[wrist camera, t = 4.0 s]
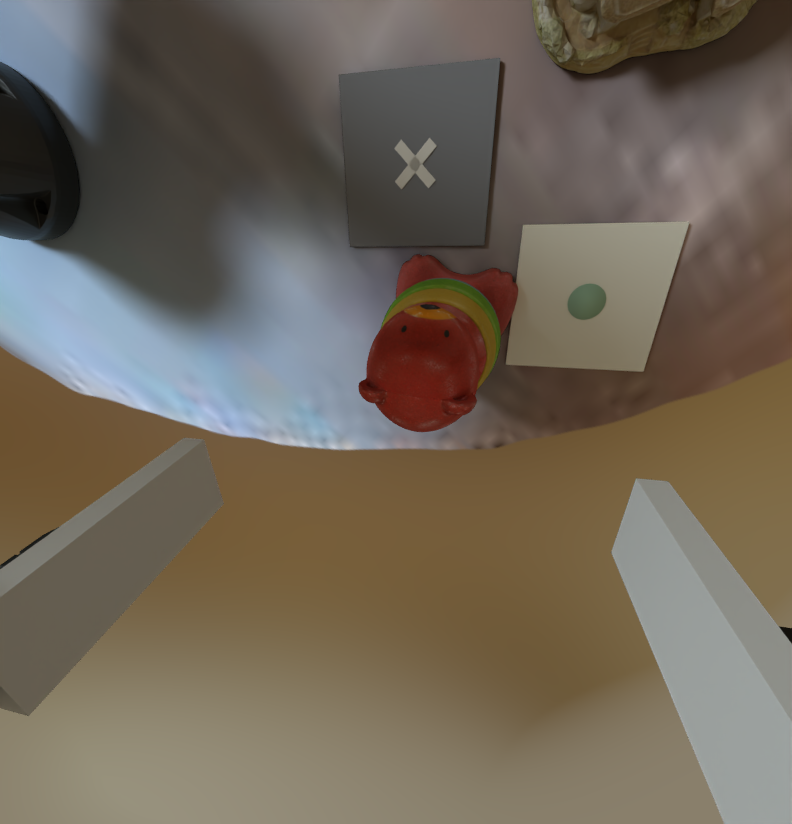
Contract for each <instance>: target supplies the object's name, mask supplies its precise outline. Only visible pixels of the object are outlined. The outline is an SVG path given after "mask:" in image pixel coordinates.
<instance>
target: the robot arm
mask: <svg viewBox="0 0 792 824" xmlns="http://www.w3.org/2000/svg"><path fill="white" fill-rule="evenodd" d="M78 202H79V183H78V175H77V170H76V165H75V162H74V158H73V155H72V152H71V149H70V146H69V144H68V141H67V139H66V137H65V134H64V132H63V130H62V128H61V126H60V124H59V123H58V121H57V119H56V117H55V116H54V114H53V113H52V111H51V109H50V108H49V107H48V105H47V104H46V102H45V101H44V100H43V98H42V97H41V96H40V95H39V94H38V92H37V91H36V90H35V89H34V88H33V87H32V86H31V85H30V84H29V83H28V82H27V81H26V80H25V79H24V78H23V77H22V76H21V75H19V74H18V73H17V72H16V71H14V70H13V69H12V68H10V67H9V66H7V65H5V64H3V63H2V62H0V236H4V237H8V238H12V239H19V240H49V239H53V238H56V237H59V236H60V235H62V234H63V233H65V232H66V231H67V230H68V229H69V227H70V226H71V224H72V223H73V221H74V219H75V216H76V213H77V209H78ZM223 504H224V503H223V500H222V496H221V493H220V490H219V487H218V483H217V480H216V477H215V474H214V471H213V467H212V464H211V461H210V458H209V454H208V451H207V448H206V445H205V441H204V440H202V439H190V438H184V439H182V440H181V441H179V442H178V443H176V444H175V445H174V446H172V447H171V448H169V449H168V450H167V451H165V452H164V453H162V454H161V455H160V456H158V457H157V458H155V459H154V460H153V461H151V462H150V463H148V464H147V465H146V466H144V467H143V468H142V469H140V470H139V471H137V472H136V473H134V474H133V475H132V476H130V477H129V478H127V479H126V480H125V481H123V482H122V483H121V484H119V485H118V486H116V487H115V488H113V489H112V490H111V491H109V492H108V493H106V494H105V495H104V496H102V497H101V498H99V499H98V500H97V501H95V502H94V503H92V504H91V505H90V506H88V507H87V508H85V509H84V510H83V511H81V512H80V513H78V514H77V515H76V516H74V517H73V518H72V519H70V520H69V521H67V522H66V523H64V524H63V525H62V526H60V527H58V528H56V529H54V530H52V531H50V532H48V533H46V534H44V535H42V536H41V537H40V538H38V539H37V540H35V541H34V542H33V543H31V544H30V545H28V546H27V547H25V548H24V549H23V550H21V551H20V554H19V555H14V556H13V557H11V558H10V559H8V560H7V561H6V562H4V563H3V564H1V565H0V708H2V709H5V710H9V711H13V712H16V713H20V714H24V715H27V716H29V715H30V714H31V713H32V712H33V711H34V709H36V707H37V706H38V705H39V704H40V703H41V702H42V701H43V700H44V699H45V698H46V697H47V695H48V694H49V693H50V692H51V691H52V690H53V689H54V688H55V687H56V686H57V685H58V683H59V682H60V681H61V680H62V679H63V678H64V677H65V676H66V675H67V674H68V673H69V672H70V670H71V669H72V668H73V667H74V666H75V665H76V664H77V663H78V662H79V661H80V660H81V658H82V657H83V656H84V655H85V654H86V653H87V652H88V651H89V650H90V649H91V648H92V647H93V645H94V644H95V643H96V642H97V641H98V640H99V639H100V638H101V637H102V636H103V635H104V633H105V632H106V631H107V630H108V629H109V628H110V627H111V626H112V625H113V623H114V622H116V620H117V619H118V618H119V617H120V616H121V615H122V614H123V613H124V612H125V610H127V608H128V607H129V606H130V605H131V604H132V603H133V602H134V601H135V600H136V599H137V597H138V596H139V595H140V594H141V593H142V592H143V591H144V590H145V589H146V588H147V587H148V586H149V585H150V583H151V582H152V581H153V580H154V579H155V578H156V577H157V576H158V575H159V574H160V573H161V571H162V570H163V569H164V568H165V567H166V566H167V565H168V564H169V563H170V562H171V561H172V560H173V558H174V557H175V556H176V555H177V554H178V553H179V552H180V551H181V550H182V549H183V547H184V546H185V545H186V544H187V543H188V542H189V541H190V540H191V539H192V538H193V537H194V535H195V534H196V533H197V532H198V531H199V530H200V529H201V528H202V527H203V526H204V525H205V523H206V522H207V521H208V520H209V519H210V518H211V517H212V516H213V515H214V514H215V513H216V512H217V510H218V509H219V508H220V507H221V506H222V505H223ZM611 553H612V556H613V558H614V560H615V563H616V565H617V568H618V570H619V572H620V575H621V577H622V580H623V582H624V584H625V587H626V589H627V592H628V594H629V596H630V599H631V601H632V604H633V606H634V608H635V611H636V613H637V615H638V618H639V620H640V623H641V625H642V628H643V630H644V632H645V635H646V637H647V640H648V642H649V644H650V647H651V649H652V651H653V654H654V656H655V659H656V661H657V663H658V666H659V668H660V671H661V673H662V675H663V678H664V680H665V683H666V685H667V687H668V690H669V692H670V695H671V697H672V700H673V702H674V704H675V707H676V709H677V711H678V714H679V716H680V718H681V721H682V723H683V725H684V728H685V731H686V733H687V735H688V738H689V740H690V743H691V745H692V747H693V750H694V752H695V755H696V757H697V759H698V762H699V764H700V767H701V769H702V771H703V774H704V776H705V779H706V781H707V783H708V786H709V788H710V791H711V793H712V795H713V798H714V800H715V803H716V805H717V807H718V810H719V812H720V815H721V817H722V819H723V822H724V824H792V628H786V627H779V626H778V625H777V624H776V623H775V621H774V620H773V619H772V617H771V616H770V615H769V613H768V612H767V611H766V609H765V608H764V607H763V606H762V604H761V603H760V602H759V600H758V599H757V598H756V596H755V595H754V594H753V593H752V591H751V590H750V588H749V587H748V586H747V584H746V583H745V582H744V581H743V579H742V578H741V576H740V575H739V574H738V573H737V571H736V570H735V569H734V567H733V566H732V565H731V563H730V562H729V561H728V559H727V558H726V557H725V556H724V554H723V553H722V551H721V550H720V549H719V547H718V546H717V545H716V544H715V542H714V541H713V540H712V538H711V537H710V536H709V534H708V533H707V532H706V530H705V529H704V528H703V526H702V525H701V524H700V523H699V521H698V520H697V519H696V517H695V516H694V515H693V513H692V512H691V511H690V509H689V508H688V507H687V505H686V504H685V503H684V501H683V500H682V499H681V498H680V496H679V495H678V494H677V492H676V491H675V490H674V488H673V487H672V486H671V484H670V483H669V482H668V481H659V480H648V479H636V480H635V483H634V486H633V489H632V492H631V495H630V498H629V501H628V504H627V507H626V510H625V513H624V516H623V519H622V522H621V525H620V528H619V531H618V534H617V537H616V540H615V543H614V546H613V548H612V552H611Z"/></svg>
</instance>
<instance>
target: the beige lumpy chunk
mask: <svg viewBox="0 0 792 824" xmlns="http://www.w3.org/2000/svg"><path fill="white" fill-rule="evenodd" d="M756 1H757V0H532V8H533V15H534V22H535V27H536V32H537V35H538V37H539V39H540V42H541V44H542V45H543V47H544V49H545V50H546V52H547V54H548V55H549V57H550V58H551V59H552V60H553V61H554V62H555V63H556V64H557V65H559V66H560V67H562V68H566V69H568V70H573V71H577V72H578V73H584V74H591V73H598V72H601V71H603V70H606V69H608V68H610V67H612V66H614V65H615V64H617V63H619V62H621V61H623V60H625V59H627V58H630V57H635V56H645V55H649V54H652V53H653V54H654V53H658V52H664V51H673V50H679V49H681V50H684V49H692V48H695V47H699V46H701V45H703V44H705V43H707V42H710V41H713V40H715V39H717V38H720V37H722V36H724V35H726V34H727V33H728V32H729V31H730V30H731V29H733V28H734V27H735V26H737V25H738V23H739V22H740V21H741V20H742V19H743V18H744V17H745V16H746V15H747V14H748V11H749V10H750V8H751V7H752V5H753V4H754V3H756Z"/></svg>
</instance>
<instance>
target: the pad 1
mask: <svg viewBox="0 0 792 824" xmlns="http://www.w3.org/2000/svg"><path fill="white" fill-rule="evenodd" d="M499 67H500V58H494V59H485V60H475V61H466V62H456V63H447V64H437V65H427V66H418V67H408V68H399V69H389V70H380V71H370V72H361V73H351V74H341V75H339V86H340V101H341V117H342V132H343V147H344V163H345V178H346V194H347V209H348V224H349V240H350V247H364V246H472V245H484V242H485V230H486V219H487V207H488V195H489V184H490V172H491V160H492V149H493V137H494V125H495V114H496V102H497V90H498V79H499Z"/></svg>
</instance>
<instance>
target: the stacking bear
mask: <svg viewBox="0 0 792 824" xmlns="http://www.w3.org/2000/svg"><path fill="white" fill-rule="evenodd" d="M517 297H518V286H517V284H516V283H514V282H513V277H512V275H511V274H510V273H508V272H501V271H500V270H499V269H497V268H492V269H488V270H485V271H483V272H480V273H477V274H471V275H463V274H458V273H455V272H452V271H450V270H448V269H447V268H445V267H444V266H443V265H442V264H441V263H440V262H439V261H438V260H437V259H436V258H434V257H433V256H431V255H426V256H422V255H420V254H417V255H414V256H413V257H412V258H411V260H409V261H406V262H405V263H404V264H403V265H402V267H401V270H400V273H399V277H398V282H397V289H396V300H395V301H394V302H393V303H392V305H391V306H390V308H389V310H388V311H387V313H386V315H385V318H384V320H383V323H382V326H381V330H380V331H379V333H378V334H377V336H376V338H375V340H374V342H373V344H372V346H371V349H370V352H369V356H368V361H367V378H366V379H365V380H363V381H361V382H360V383H359V392H360V394H361V396H362V397H363V398H364V399H365V400H366V401H368V402H371V403H375V404H376V406H377V407H378V408H379V410H380V411H381V412H382V413H383V414H384V415H385V416H386V417H387V418H388V419H389V420H391V421H392V422H393V423H395V424H397V425H398V426H400V427H402V428H405V429H408V430H411V431H416V432H429V431H435V430H439V429H441V428H444V427H446V426H448V425H450V424H452V423H453V422H455V421H456V420H458V419H459V418H460V417H461V416H462V415H465V414H467V413H469V412H470V411H471V410H472V409H473V408H474V407H475V405H476V402H477V399H476V397H475V394H476V391H477V389H478V388H479V387H480V386H481V385H482V383H483V382H484V381H485V379H486V378H487V377H488V375H489V374H490V372H491V371H492V369H493V367H494V365H495V362H496V360H497V357H498V353H499V350H500V342H501V335H502V334H503V332H504V331H505V329H506V327H507V325H508V323H509V321H510V319H511V317H512V314H513V311H514V309H515V305H516V301H517Z"/></svg>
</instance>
